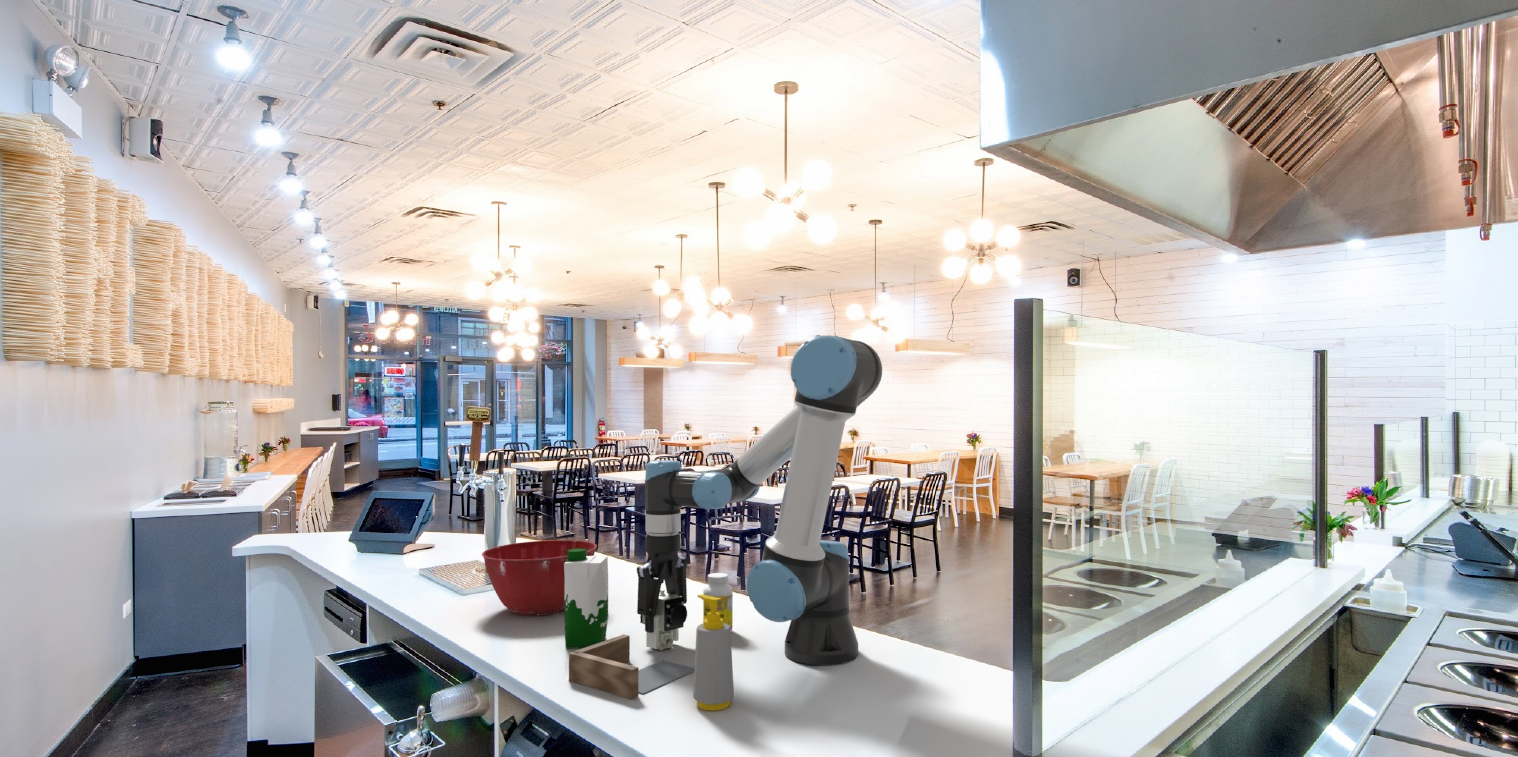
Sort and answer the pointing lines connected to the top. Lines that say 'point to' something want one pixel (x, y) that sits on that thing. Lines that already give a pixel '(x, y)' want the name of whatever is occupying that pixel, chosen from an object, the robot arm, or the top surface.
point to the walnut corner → (606, 667)
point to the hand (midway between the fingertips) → (662, 643)
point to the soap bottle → (713, 661)
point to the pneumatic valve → (668, 617)
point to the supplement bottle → (722, 591)
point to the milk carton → (585, 598)
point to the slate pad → (660, 675)
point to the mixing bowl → (531, 574)
